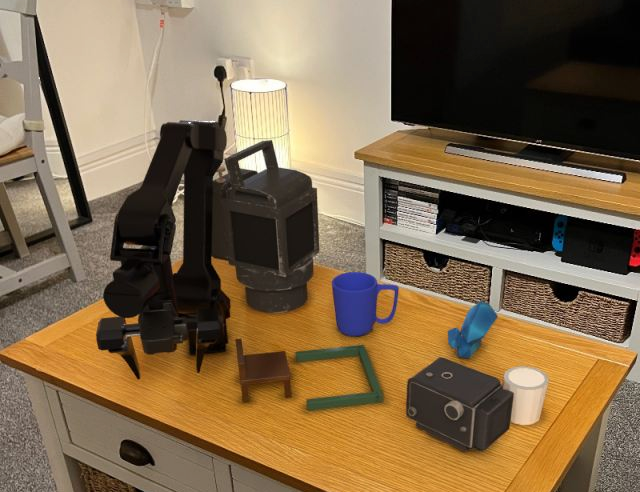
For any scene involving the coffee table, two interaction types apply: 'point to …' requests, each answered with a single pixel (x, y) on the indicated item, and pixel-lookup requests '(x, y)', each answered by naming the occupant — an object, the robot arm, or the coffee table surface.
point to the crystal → (472, 329)
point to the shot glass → (526, 393)
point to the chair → (262, 369)
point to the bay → (349, 399)
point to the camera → (459, 405)
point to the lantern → (266, 229)
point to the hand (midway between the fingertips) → (169, 375)
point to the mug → (358, 302)
